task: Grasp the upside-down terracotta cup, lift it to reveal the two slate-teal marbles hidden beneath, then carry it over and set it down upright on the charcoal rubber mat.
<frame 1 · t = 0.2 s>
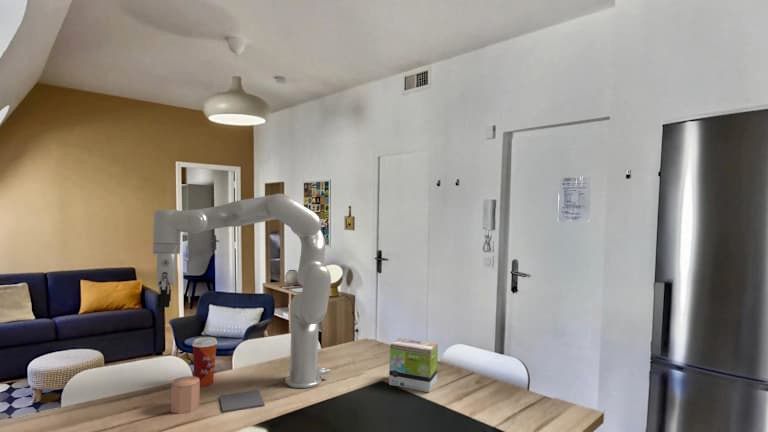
hand: (164, 304, 131), 30 cm above the table, fingers open, 9 cm apart
coffee cup: (203, 383, 147), on the table
marble 2: (190, 405, 128), on the table
tea box: (413, 385, 149), on the table
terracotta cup: (185, 407, 127), on the table
marble 1: (179, 409, 126), on the table
charcoal mat: (241, 401, 132), on the table
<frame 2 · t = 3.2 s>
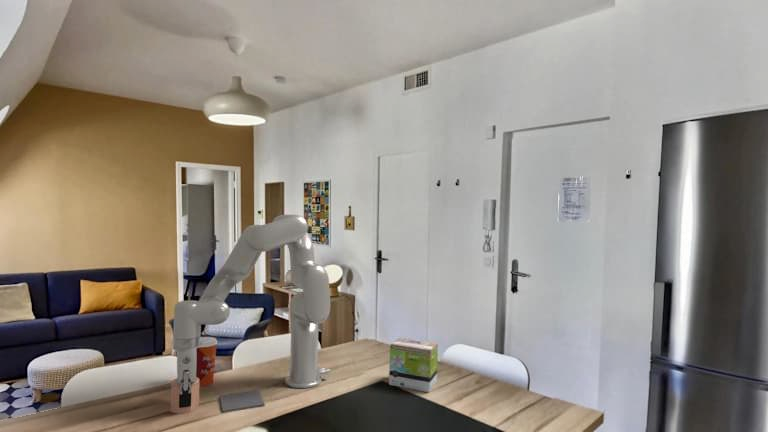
hand: (184, 401, 127), 2 cm above the table, fingers closed on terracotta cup, 7 cm apart
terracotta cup: (184, 407, 127), on the table, touching gripper
everything else where it was.
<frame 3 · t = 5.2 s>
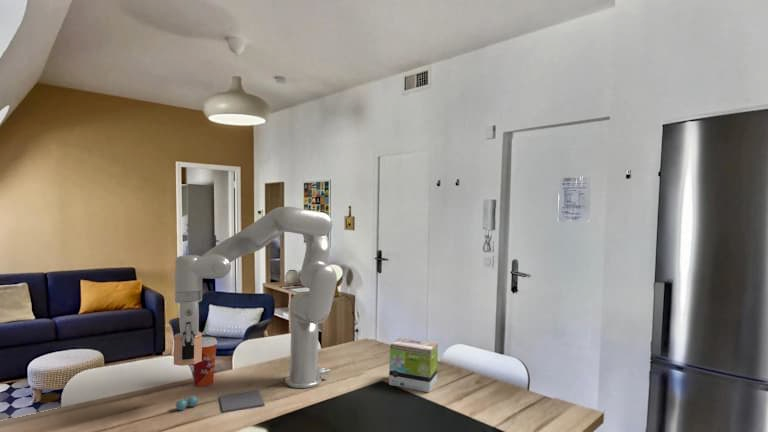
hand: (187, 354, 128), 16 cm above the table, fingers closed on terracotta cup, 7 cm apart
marble 2: (190, 405, 128), on the table, tilted 24°
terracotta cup: (187, 361, 128), point 14 cm above the table, touching gripper
marble 1: (179, 408, 126), on the table, tilted 30°
everything else where it was.
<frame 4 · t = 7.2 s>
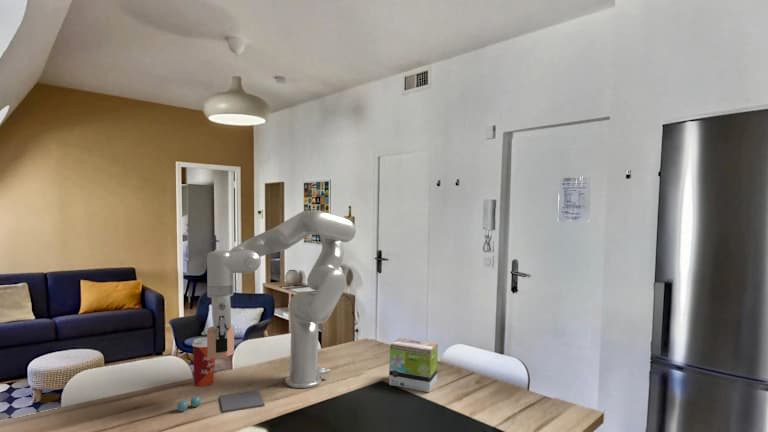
hand: (220, 347, 131), 17 cm above the table, fingers closed on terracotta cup, 7 cm apart
marble 2: (191, 403, 128), point 1 cm above the table, tilted 65°
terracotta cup: (220, 353, 131), point 15 cm above the table, touching gripper
marble 1: (179, 406, 126), point 1 cm above the table, tilted 65°
everything else where it was.
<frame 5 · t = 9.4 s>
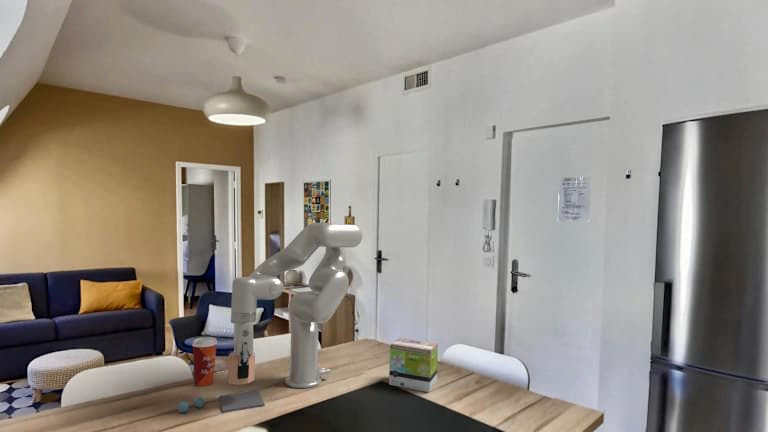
hand: (241, 373, 132), 9 cm above the table, fingers closed on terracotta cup, 7 cm apart
marble 2: (195, 399, 128), point 2 cm above the table, tilted 110°
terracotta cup: (240, 379, 132), point 7 cm above the table, touching gripper
marble 1: (180, 404, 125), point 2 cm above the table, tilted 104°
everything else where it was.
when the fingers open (4 cm above the table, at t = 11.4 s): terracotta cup drops 1 cm, resting on charcoal mat.
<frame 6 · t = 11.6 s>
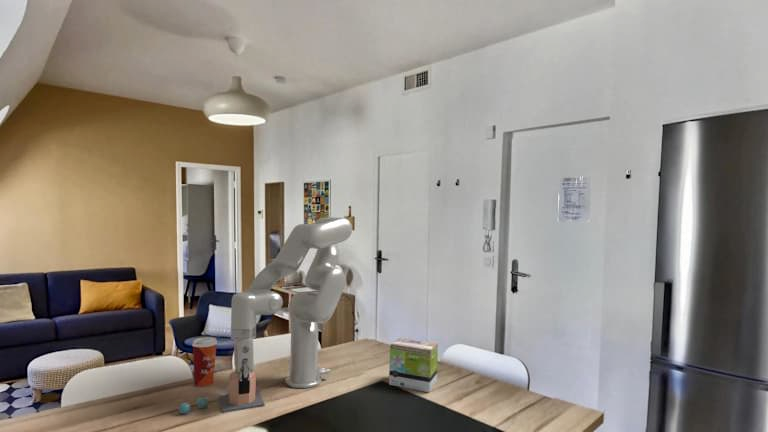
hand: (241, 387, 132), 4 cm above the table, fingers open, 9 cm apart
marble 2: (200, 397, 128), point 3 cm above the table, tilted 155°
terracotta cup: (241, 399, 132), point 1 cm above the table, touching charcoal mat
marble 1: (182, 403, 124), point 3 cm above the table, tilted 143°
everything else where it was.
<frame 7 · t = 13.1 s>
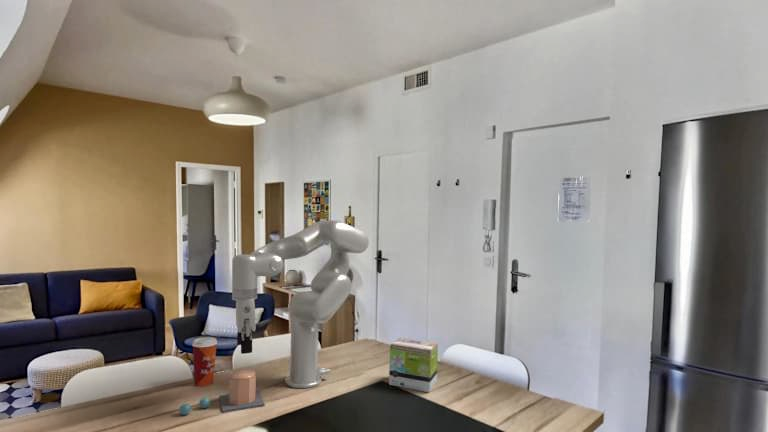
hand: (244, 348, 133), 16 cm above the table, fingers open, 9 cm apart
marble 2: (205, 397, 127), point 3 cm above the table, tilted 174°
marble 1: (183, 404, 123), point 3 cm above the table, tilted 163°
everything else where it was.
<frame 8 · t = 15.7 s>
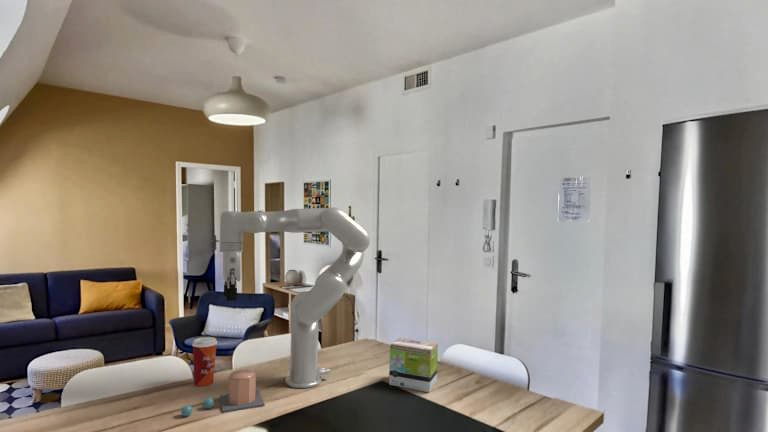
hand: (230, 298, 143), 30 cm above the table, fingers open, 9 cm apart
marble 2: (212, 401, 127), point 2 cm above the table, tilted 121°
marble 1: (186, 408, 121), point 3 cm above the table, tilted 134°
everything else where it was.
at the end: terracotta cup 0.1 cm off-centre on the charcoal mat, point 0.6 cm above the charcoal mat's base; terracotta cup tilted 0°; the gripper is holding nothing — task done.
